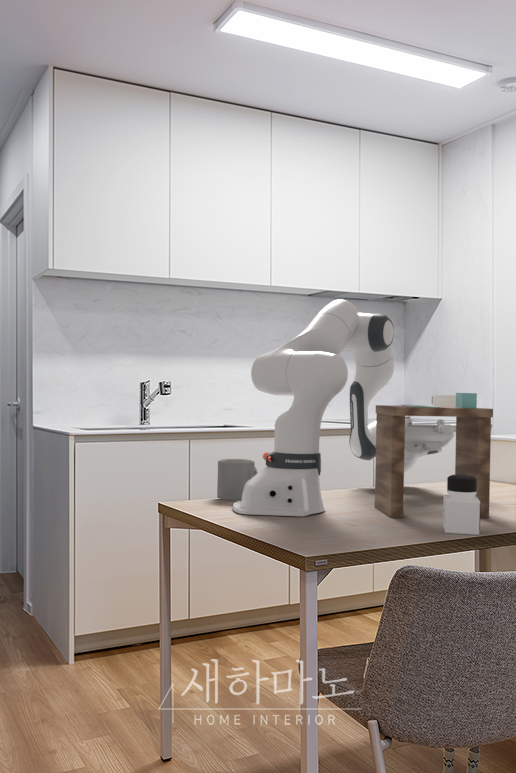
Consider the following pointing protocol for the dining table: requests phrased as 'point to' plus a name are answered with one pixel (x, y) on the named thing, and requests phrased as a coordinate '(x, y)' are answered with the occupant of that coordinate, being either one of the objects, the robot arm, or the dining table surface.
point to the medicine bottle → (461, 506)
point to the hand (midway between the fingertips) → (425, 421)
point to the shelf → (468, 459)
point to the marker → (456, 400)
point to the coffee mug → (234, 477)
